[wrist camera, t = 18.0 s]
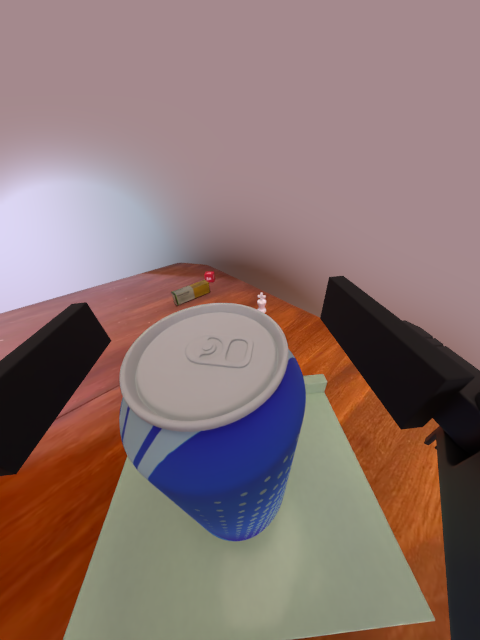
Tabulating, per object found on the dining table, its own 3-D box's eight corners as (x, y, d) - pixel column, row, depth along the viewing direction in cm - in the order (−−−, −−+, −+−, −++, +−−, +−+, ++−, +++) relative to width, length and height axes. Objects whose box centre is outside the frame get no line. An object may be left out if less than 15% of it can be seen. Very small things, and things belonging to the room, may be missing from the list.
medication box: (177, 306, 58) (173, 295, 55) (173, 302, 60) (170, 291, 57) (210, 292, 63) (208, 281, 61) (206, 289, 65) (204, 278, 62)
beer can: (227, 584, 12) (115, 604, 3) (175, 466, 18) (77, 341, 8) (304, 478, 16) (361, 346, 7) (243, 408, 22) (227, 281, 12)
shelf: (384, 607, 16) (456, 625, 10) (117, 642, 15) (24, 683, 9) (310, 415, 29) (323, 373, 23) (165, 431, 28) (139, 393, 22)
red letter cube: (215, 278, 73) (213, 271, 71) (213, 282, 70) (212, 274, 69) (207, 279, 73) (206, 271, 71) (205, 282, 71) (204, 274, 69)
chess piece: (270, 337, 43) (271, 299, 37) (249, 334, 45) (247, 297, 39) (273, 324, 47) (274, 288, 41) (254, 322, 48) (253, 287, 43)
